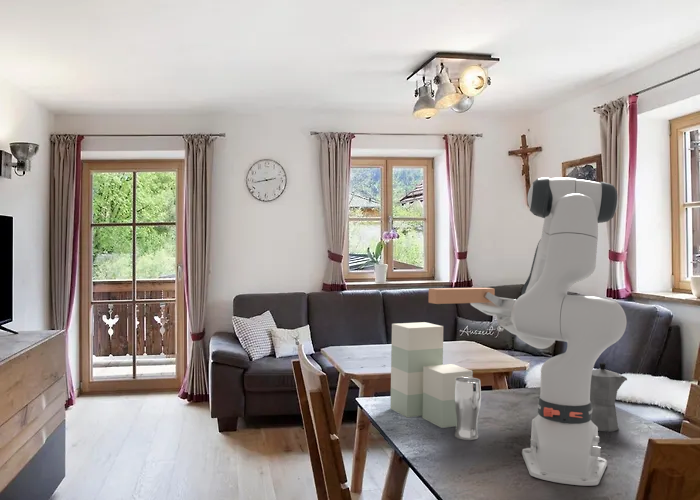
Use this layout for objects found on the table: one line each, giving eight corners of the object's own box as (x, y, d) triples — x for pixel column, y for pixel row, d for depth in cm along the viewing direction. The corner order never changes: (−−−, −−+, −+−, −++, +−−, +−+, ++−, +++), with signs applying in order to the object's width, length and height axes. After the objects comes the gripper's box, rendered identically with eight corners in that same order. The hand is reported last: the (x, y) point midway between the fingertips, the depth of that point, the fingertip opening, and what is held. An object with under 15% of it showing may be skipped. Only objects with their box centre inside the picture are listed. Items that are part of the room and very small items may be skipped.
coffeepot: (632, 428, 164) (633, 364, 164) (619, 436, 157) (620, 368, 157) (577, 416, 175) (578, 356, 175) (563, 423, 168) (564, 360, 168)
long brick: (485, 301, 175) (486, 287, 175) (494, 302, 171) (494, 288, 171) (428, 302, 166) (428, 288, 166) (436, 303, 163) (436, 289, 163)
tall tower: (423, 404, 185) (425, 322, 185) (441, 413, 176) (443, 326, 175) (390, 408, 180) (391, 323, 179) (407, 417, 171) (408, 328, 170)
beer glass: (468, 442, 150) (469, 384, 150) (447, 435, 155) (448, 378, 155) (485, 437, 154) (486, 380, 154) (464, 430, 160) (465, 375, 159)
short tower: (451, 414, 175) (452, 364, 175) (471, 423, 166) (472, 370, 166) (422, 418, 170) (423, 366, 170) (441, 428, 161) (442, 373, 161)
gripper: (494, 303, 187) (463, 281, 182) (540, 310, 168) (507, 286, 163) (485, 320, 185) (454, 299, 180) (531, 329, 167) (497, 306, 162)
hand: (479, 293), depth 171 cm, fingers closed on long brick, 4 cm apart
